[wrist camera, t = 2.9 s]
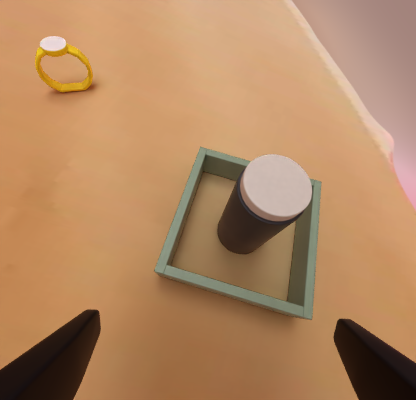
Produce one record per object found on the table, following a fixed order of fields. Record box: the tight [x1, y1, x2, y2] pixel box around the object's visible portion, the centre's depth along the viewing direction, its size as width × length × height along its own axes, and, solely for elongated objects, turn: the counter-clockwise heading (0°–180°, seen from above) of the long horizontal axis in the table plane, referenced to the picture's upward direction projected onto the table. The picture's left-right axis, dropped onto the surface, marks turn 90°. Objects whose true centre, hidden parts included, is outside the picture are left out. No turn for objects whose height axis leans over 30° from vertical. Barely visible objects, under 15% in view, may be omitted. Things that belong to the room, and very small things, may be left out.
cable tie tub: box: [218, 154, 312, 254], centre depth 19 cm, size 5×5×11 cm
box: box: [154, 147, 321, 320], centre depth 23 cm, size 14×14×4 cm
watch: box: [35, 36, 93, 93], centre depth 28 cm, size 6×3×6 cm, turn 109°
